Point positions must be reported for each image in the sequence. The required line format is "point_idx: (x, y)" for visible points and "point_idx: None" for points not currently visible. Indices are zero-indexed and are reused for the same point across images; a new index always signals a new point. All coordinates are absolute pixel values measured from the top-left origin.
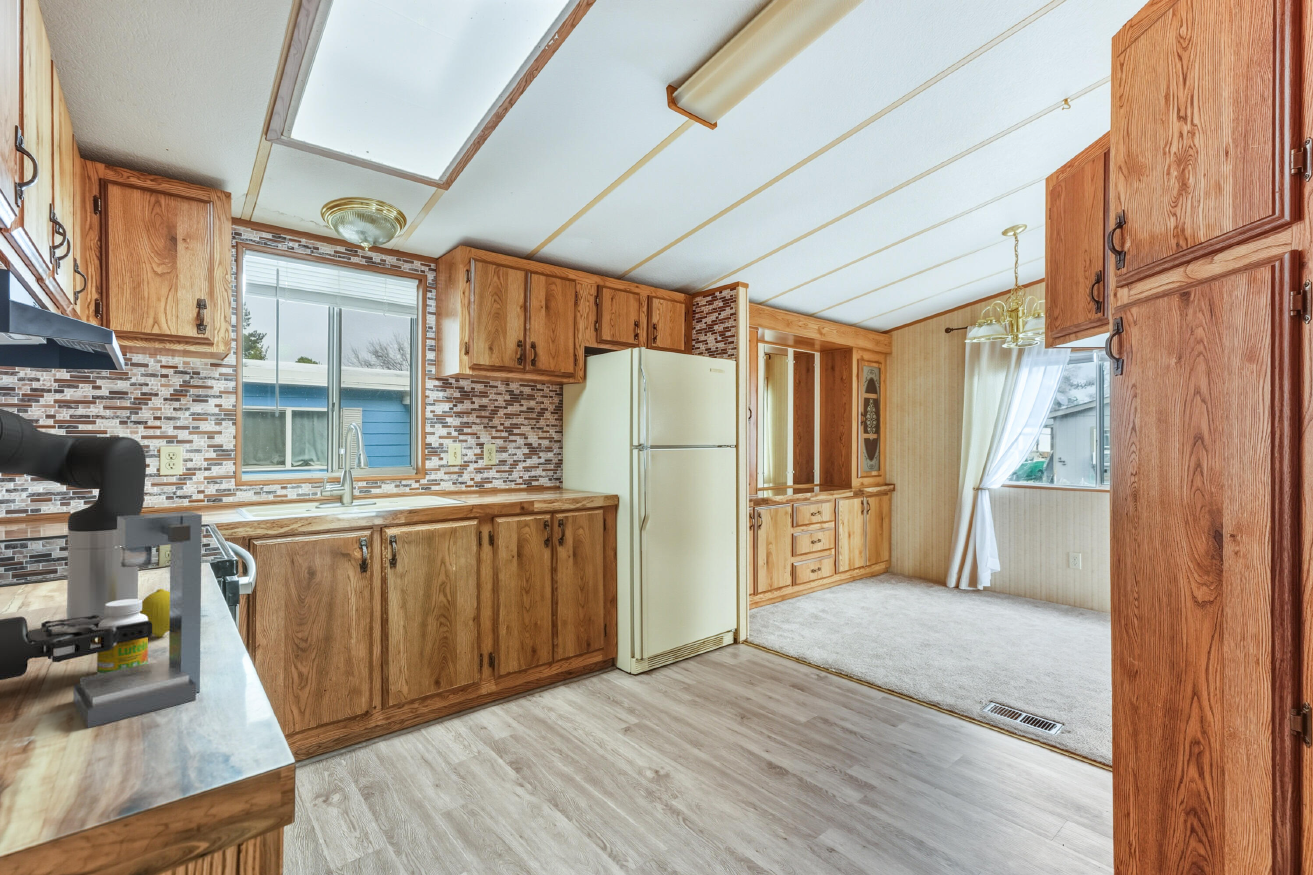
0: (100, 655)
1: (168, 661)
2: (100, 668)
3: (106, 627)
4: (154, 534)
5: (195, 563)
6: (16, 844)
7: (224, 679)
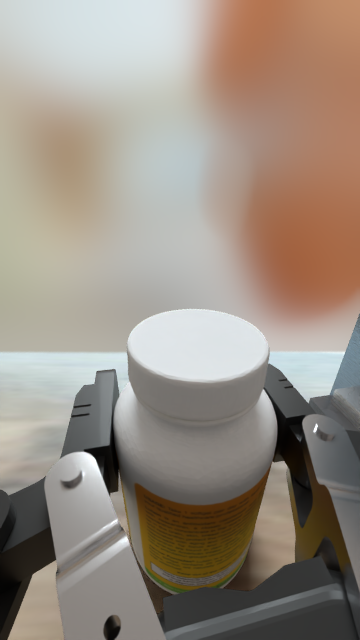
0: (235, 549)
1: (357, 392)
2: (233, 571)
3: (321, 445)
4: None
5: None
6: None
7: (332, 369)
